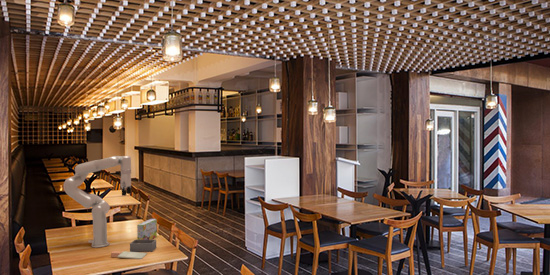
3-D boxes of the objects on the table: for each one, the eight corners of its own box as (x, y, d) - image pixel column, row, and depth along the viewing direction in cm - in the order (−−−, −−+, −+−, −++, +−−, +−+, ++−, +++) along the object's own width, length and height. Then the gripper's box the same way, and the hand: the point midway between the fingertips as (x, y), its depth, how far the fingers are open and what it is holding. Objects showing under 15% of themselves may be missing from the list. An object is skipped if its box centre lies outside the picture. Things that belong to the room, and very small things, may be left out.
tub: (129, 252, 285) (129, 243, 285) (134, 247, 295) (134, 239, 295) (152, 251, 285) (152, 243, 285) (156, 247, 295) (156, 239, 295)
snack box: (143, 244, 304) (143, 224, 304) (137, 244, 305) (136, 224, 305) (157, 236, 325) (156, 218, 324) (151, 236, 326) (150, 218, 326)
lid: (108, 258, 270) (108, 254, 270) (115, 253, 280) (115, 249, 280) (141, 261, 270) (141, 256, 269) (146, 256, 280) (147, 252, 280)
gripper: (125, 170, 312) (125, 192, 313) (116, 173, 295) (117, 196, 295) (134, 170, 312) (135, 192, 313) (126, 173, 295) (127, 196, 295)
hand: (126, 194), depth 304 cm, fingers open, 9 cm apart
